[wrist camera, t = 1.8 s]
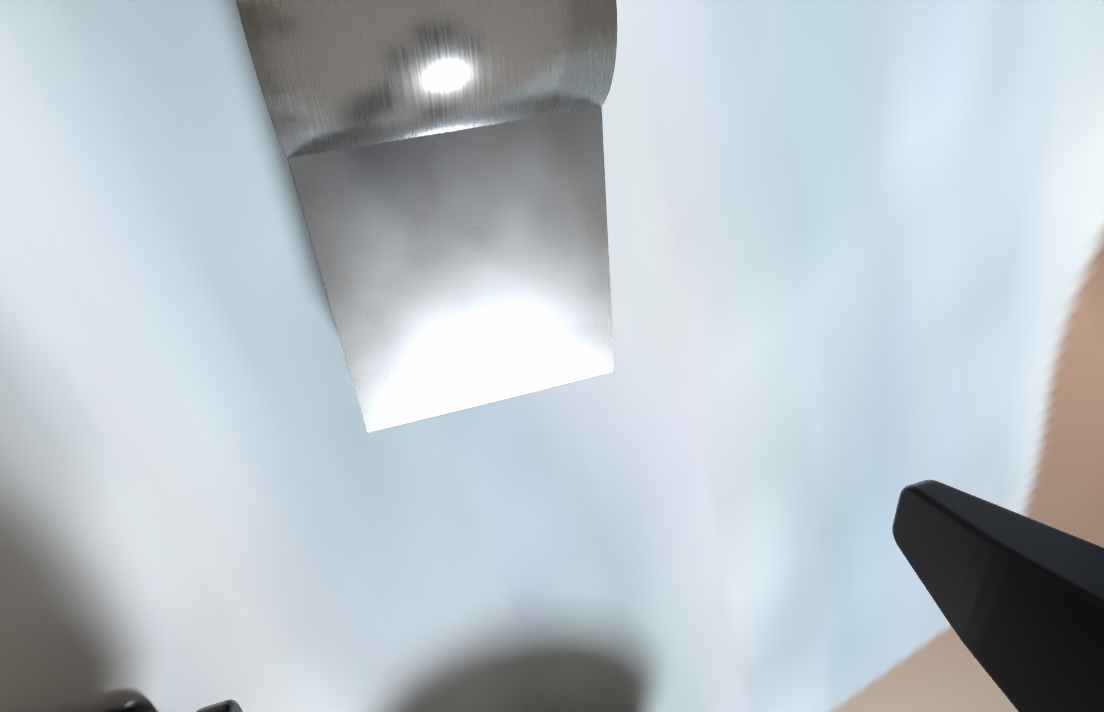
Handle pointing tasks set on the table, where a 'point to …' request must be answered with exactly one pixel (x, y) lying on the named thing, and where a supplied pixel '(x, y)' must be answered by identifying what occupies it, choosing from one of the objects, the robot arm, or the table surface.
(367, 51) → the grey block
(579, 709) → the table surface
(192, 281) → the table surface
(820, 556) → the table surface
